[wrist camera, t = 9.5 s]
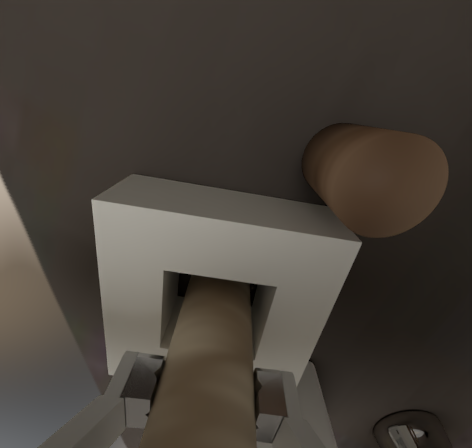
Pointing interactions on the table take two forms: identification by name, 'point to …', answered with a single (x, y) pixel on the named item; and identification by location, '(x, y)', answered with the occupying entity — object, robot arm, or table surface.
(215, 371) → the maple pin
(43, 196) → the table surface
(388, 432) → the beer glass
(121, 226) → the socket block
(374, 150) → the walnut pin
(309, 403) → the container
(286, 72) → the table surface
